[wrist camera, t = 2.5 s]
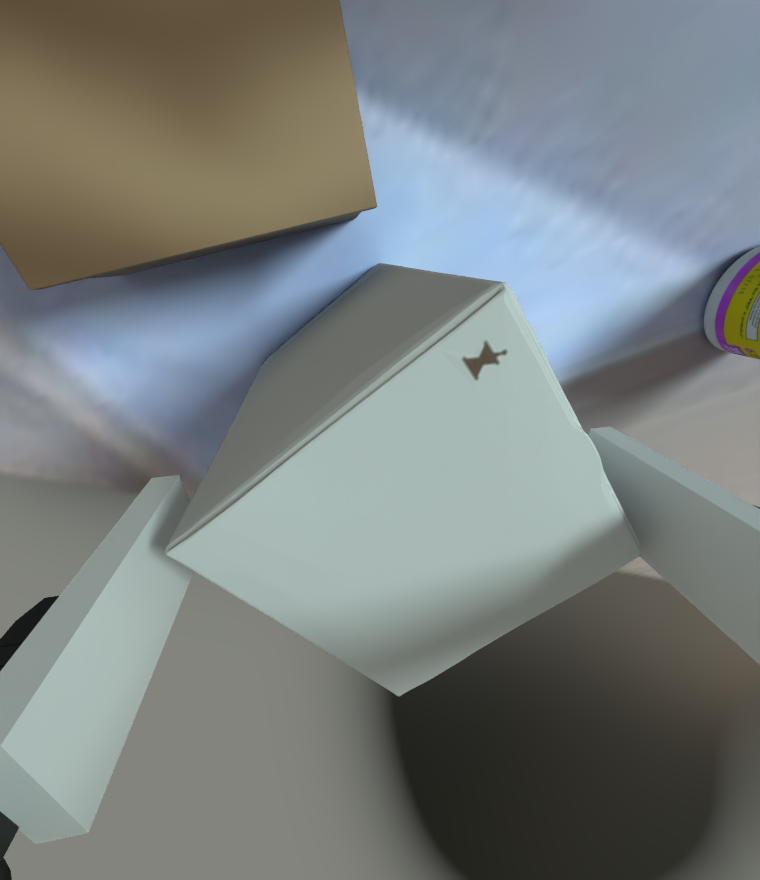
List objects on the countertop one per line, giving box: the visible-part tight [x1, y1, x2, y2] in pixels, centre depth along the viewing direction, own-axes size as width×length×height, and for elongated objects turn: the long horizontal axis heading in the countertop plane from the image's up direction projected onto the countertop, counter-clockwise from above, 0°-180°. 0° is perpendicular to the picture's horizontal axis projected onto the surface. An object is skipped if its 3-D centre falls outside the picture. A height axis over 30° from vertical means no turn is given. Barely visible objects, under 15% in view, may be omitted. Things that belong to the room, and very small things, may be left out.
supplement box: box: [165, 263, 641, 696], centre depth 15 cm, size 9×9×15 cm
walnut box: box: [0, 0, 377, 290], centre depth 12 cm, size 12×12×6 cm
